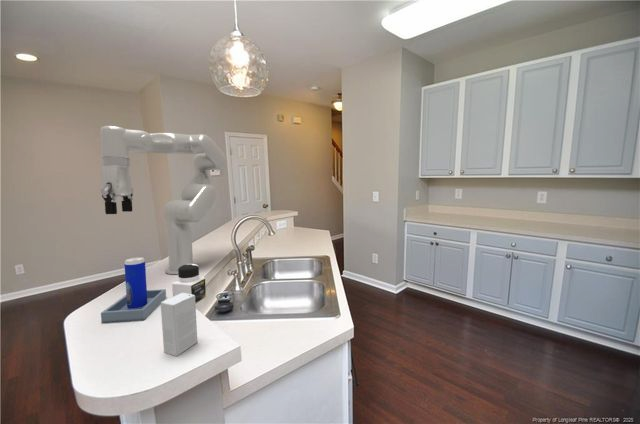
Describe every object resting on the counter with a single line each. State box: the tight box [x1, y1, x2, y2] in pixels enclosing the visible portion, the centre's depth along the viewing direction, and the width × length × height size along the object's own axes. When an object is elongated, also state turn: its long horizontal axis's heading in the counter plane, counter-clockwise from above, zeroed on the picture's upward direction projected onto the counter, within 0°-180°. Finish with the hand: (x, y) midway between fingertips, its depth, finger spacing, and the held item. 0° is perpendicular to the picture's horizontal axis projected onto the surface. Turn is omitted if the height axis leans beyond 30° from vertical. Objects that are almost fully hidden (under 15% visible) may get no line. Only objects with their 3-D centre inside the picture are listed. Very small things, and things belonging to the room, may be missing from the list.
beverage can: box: [123, 256, 148, 310], centre depth 81 cm, size 5×5×15 cm
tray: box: [100, 288, 167, 324], centre depth 82 cm, size 16×11×3 cm
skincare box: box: [160, 293, 198, 357], centre depth 62 cm, size 6×4×12 cm
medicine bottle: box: [171, 263, 207, 305], centre depth 87 cm, size 7×7×12 cm
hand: (119, 212), depth 94 cm, fingers open, 9 cm apart
